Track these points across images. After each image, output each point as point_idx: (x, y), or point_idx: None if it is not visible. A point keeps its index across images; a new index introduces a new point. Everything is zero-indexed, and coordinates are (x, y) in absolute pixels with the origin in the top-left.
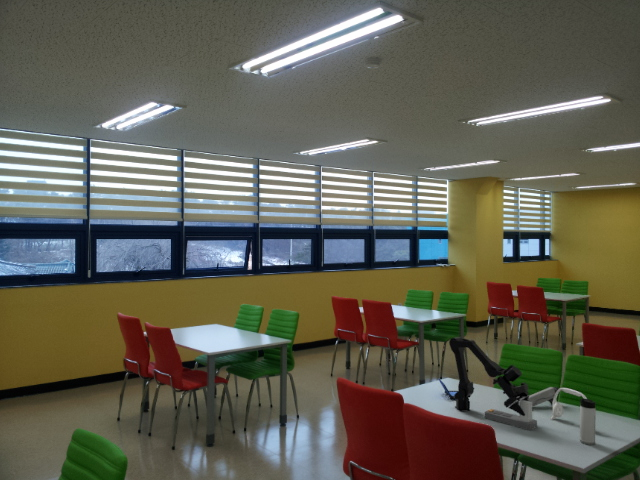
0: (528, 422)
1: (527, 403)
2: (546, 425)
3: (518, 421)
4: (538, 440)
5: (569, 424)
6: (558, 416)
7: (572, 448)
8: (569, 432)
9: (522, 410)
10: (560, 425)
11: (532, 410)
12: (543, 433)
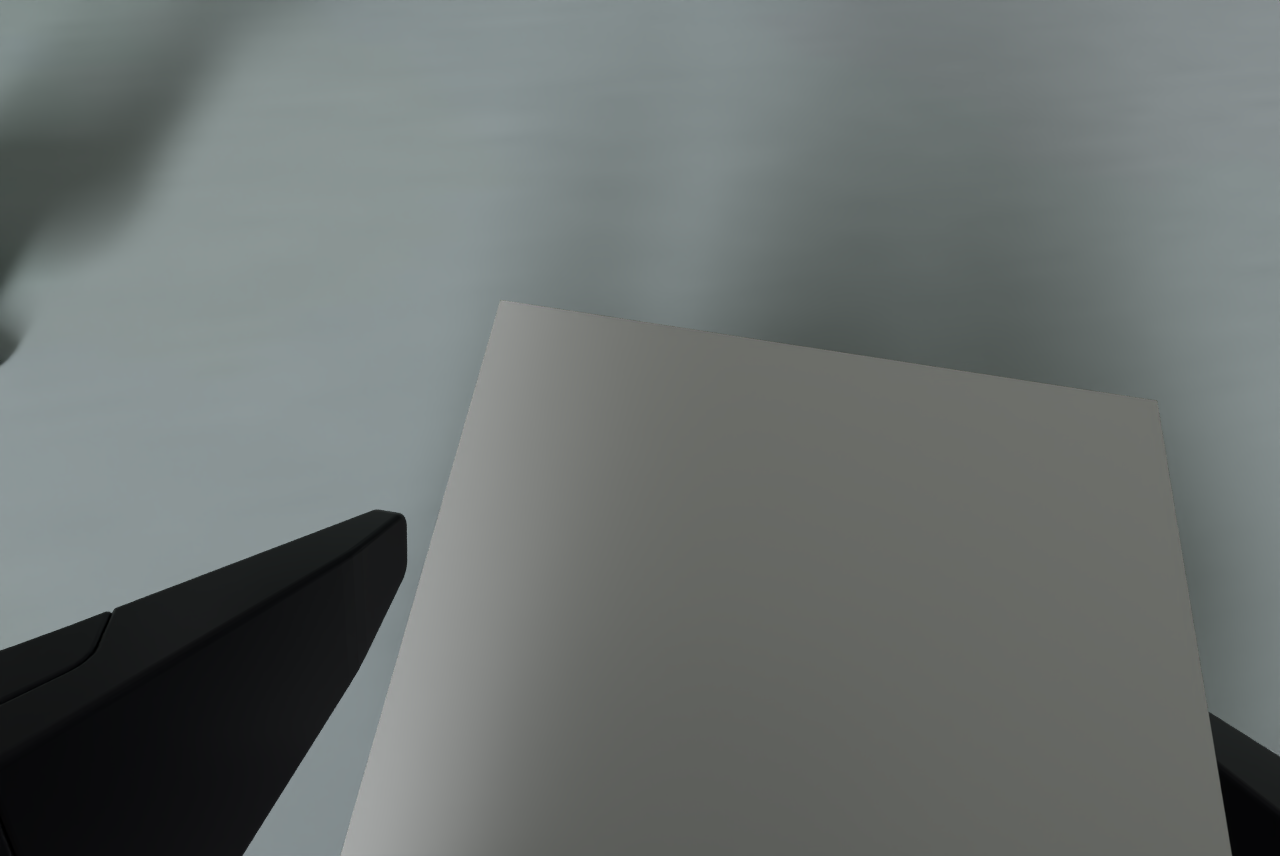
0: None
1: (1029, 511)
2: (378, 370)
3: None
4: (1195, 343)
5: (143, 119)
6: None
7: (1079, 12)
8: (522, 85)
9: (1214, 742)
10: (259, 205)
11: (395, 515)
12: (826, 340)
